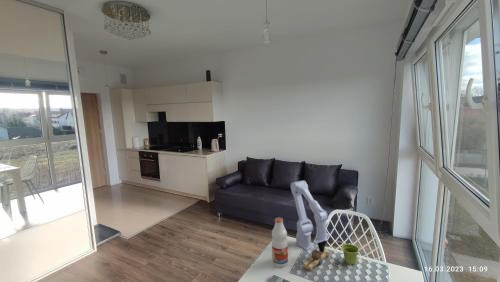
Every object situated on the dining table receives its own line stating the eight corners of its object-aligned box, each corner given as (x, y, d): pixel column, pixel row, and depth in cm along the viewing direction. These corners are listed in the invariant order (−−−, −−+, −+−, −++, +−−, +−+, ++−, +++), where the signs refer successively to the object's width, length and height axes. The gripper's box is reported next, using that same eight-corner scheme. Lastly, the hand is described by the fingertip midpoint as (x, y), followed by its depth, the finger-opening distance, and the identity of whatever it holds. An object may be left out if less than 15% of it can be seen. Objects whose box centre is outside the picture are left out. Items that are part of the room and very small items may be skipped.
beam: (311, 272, 130) (311, 267, 130) (302, 267, 135) (302, 262, 135) (330, 257, 144) (330, 252, 143) (320, 252, 148) (320, 248, 148)
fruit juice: (284, 256, 146) (282, 214, 143) (290, 266, 137) (289, 221, 134) (270, 260, 143) (268, 217, 140) (276, 269, 134) (274, 224, 131)
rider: (317, 262, 136) (317, 254, 136) (311, 259, 139) (311, 252, 139) (321, 259, 139) (321, 252, 138) (315, 256, 142) (315, 249, 141)
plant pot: (356, 269, 132) (356, 254, 131) (339, 263, 137) (339, 249, 136) (360, 260, 139) (360, 246, 138) (344, 255, 145) (344, 242, 144)
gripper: (320, 237, 133) (320, 259, 135) (333, 228, 143) (333, 249, 144) (310, 233, 138) (310, 254, 140) (323, 224, 148) (323, 244, 150)
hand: (321, 251), depth 143 cm, fingers closed
